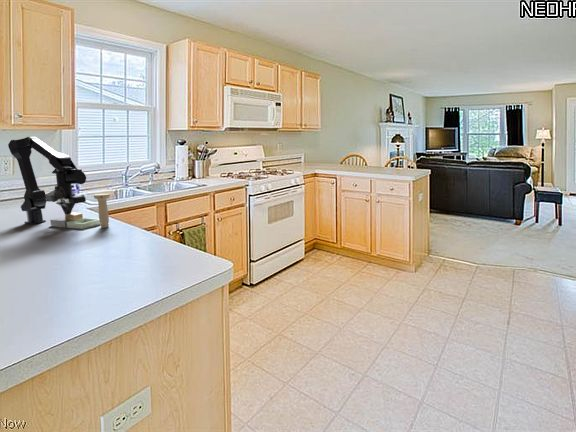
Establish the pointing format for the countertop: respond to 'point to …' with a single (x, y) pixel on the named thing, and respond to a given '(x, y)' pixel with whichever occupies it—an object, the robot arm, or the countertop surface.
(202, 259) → the countertop surface
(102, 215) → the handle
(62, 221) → the slate platform
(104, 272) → the countertop surface
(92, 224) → the tray
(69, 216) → the tan block
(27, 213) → the robot arm
